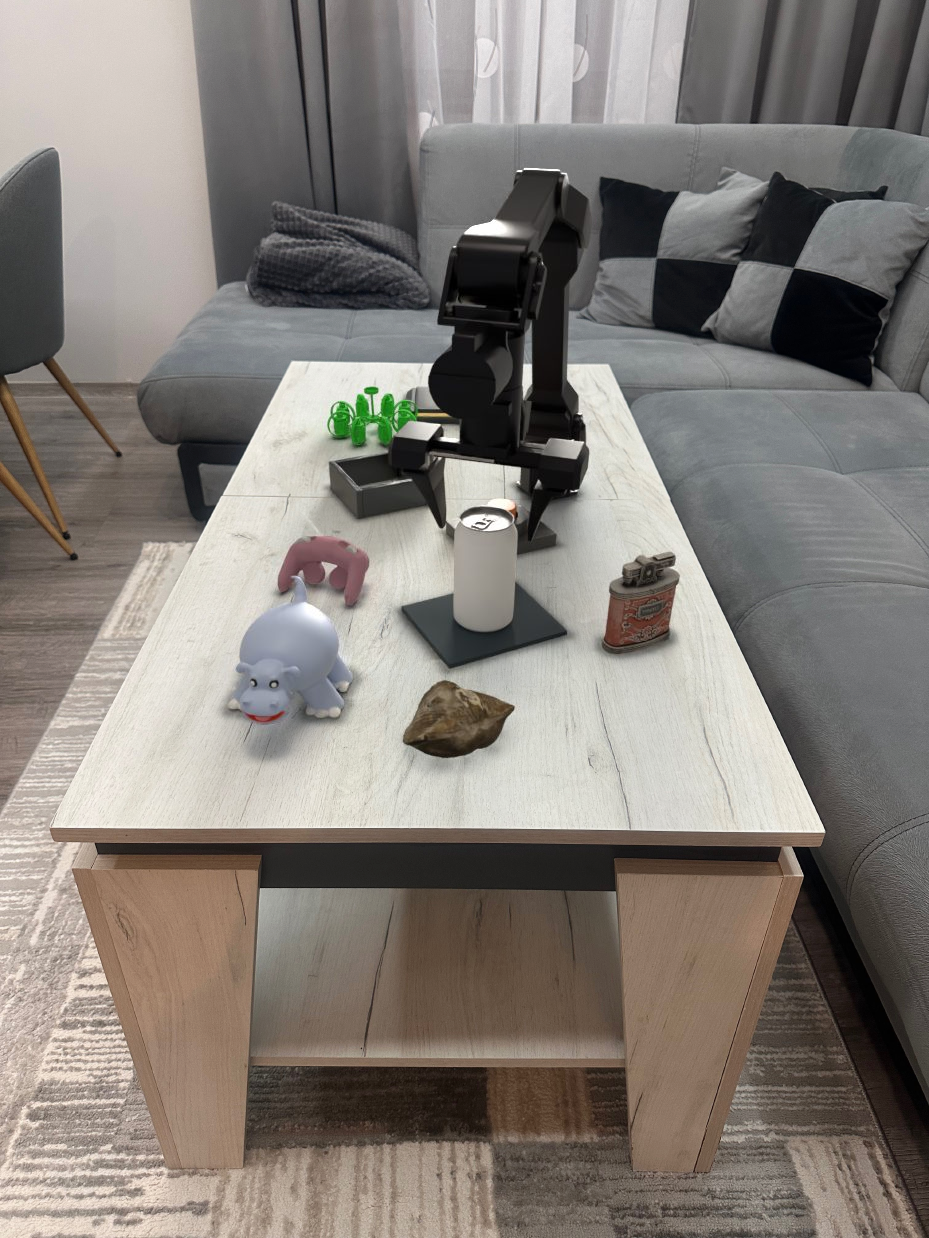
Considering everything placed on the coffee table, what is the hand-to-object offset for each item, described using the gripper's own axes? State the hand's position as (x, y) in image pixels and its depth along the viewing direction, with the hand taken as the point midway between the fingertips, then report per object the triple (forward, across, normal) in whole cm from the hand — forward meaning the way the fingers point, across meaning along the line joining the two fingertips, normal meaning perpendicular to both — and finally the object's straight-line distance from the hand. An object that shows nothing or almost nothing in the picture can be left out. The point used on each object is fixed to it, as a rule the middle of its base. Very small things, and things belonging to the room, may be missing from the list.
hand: (485, 533), depth 89 cm
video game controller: (+11, +19, -2) cm, 22 cm away
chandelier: (+11, +31, -48) cm, 58 cm away
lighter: (+11, -16, -2) cm, 20 cm away
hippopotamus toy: (+11, +14, +19) cm, 26 cm away
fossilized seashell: (+11, -3, +19) cm, 22 cm away
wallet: (+11, +20, -63) cm, 67 cm away
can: (+10, 0, 0) cm, 10 cm away
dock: (+11, +22, -26) cm, 36 cm away
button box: (+11, +3, -19) cm, 22 cm away
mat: (+11, 0, 0) cm, 11 cm away
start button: (+8, +3, -19) cm, 21 cm away
